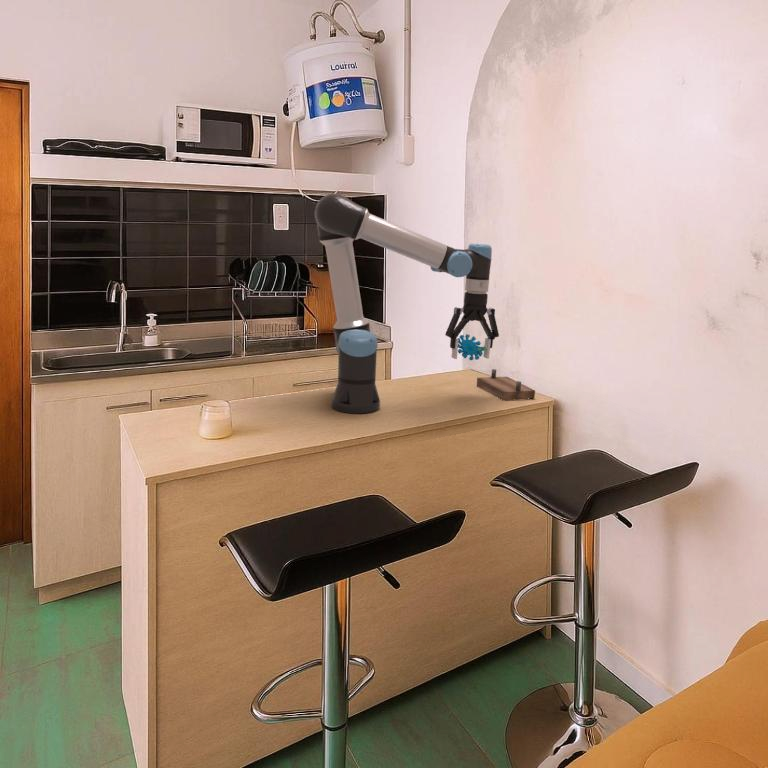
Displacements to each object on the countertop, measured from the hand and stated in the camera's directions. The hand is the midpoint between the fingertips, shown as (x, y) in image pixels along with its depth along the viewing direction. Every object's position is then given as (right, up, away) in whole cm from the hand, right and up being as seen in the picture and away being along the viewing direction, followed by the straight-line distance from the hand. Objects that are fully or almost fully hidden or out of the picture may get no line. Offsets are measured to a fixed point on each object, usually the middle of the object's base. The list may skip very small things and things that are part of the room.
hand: (470, 357), depth 224 cm
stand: (+14, -12, +12) cm, 22 cm away
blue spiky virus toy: (0, 0, 0) cm, 1 cm away
